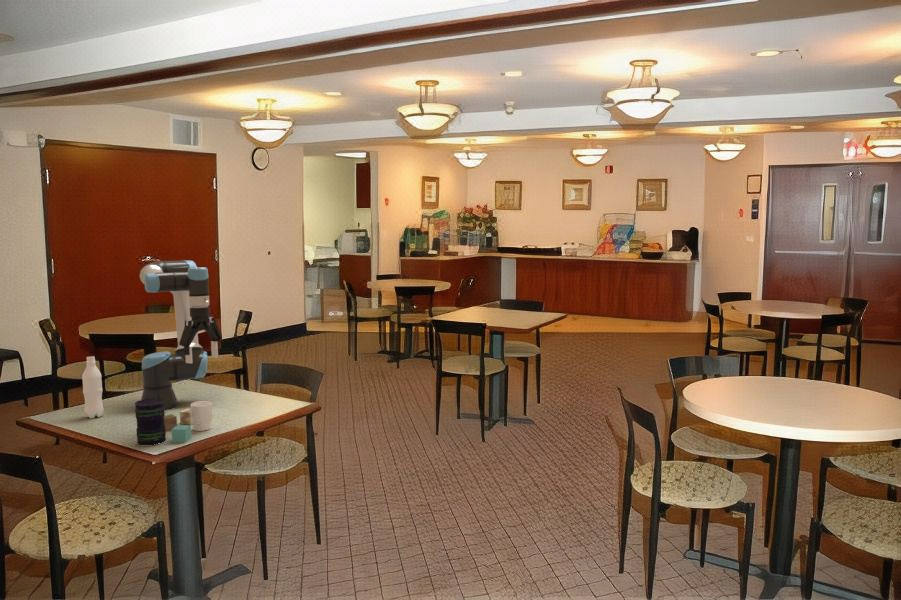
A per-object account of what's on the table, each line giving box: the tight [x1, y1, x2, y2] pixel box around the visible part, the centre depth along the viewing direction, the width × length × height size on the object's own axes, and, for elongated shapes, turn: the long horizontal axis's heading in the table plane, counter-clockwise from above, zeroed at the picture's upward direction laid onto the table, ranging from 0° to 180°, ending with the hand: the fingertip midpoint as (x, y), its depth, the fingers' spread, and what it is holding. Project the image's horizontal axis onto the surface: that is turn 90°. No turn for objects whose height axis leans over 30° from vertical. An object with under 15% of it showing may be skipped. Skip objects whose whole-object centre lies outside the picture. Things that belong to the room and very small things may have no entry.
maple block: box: [179, 408, 193, 426], centre depth 281 cm, size 5×5×5 cm
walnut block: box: [164, 414, 178, 432], centre depth 272 cm, size 5×5×5 cm
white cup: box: [190, 400, 213, 432], centre depth 272 cm, size 8×8×10 cm
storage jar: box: [134, 398, 167, 446], centre depth 256 cm, size 10×10×15 cm
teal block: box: [171, 424, 192, 443], centre depth 258 cm, size 5×5×5 cm
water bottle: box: [81, 355, 105, 419], centre depth 288 cm, size 7×7×25 cm
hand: (202, 360), depth 277 cm, fingers open, 13 cm apart
